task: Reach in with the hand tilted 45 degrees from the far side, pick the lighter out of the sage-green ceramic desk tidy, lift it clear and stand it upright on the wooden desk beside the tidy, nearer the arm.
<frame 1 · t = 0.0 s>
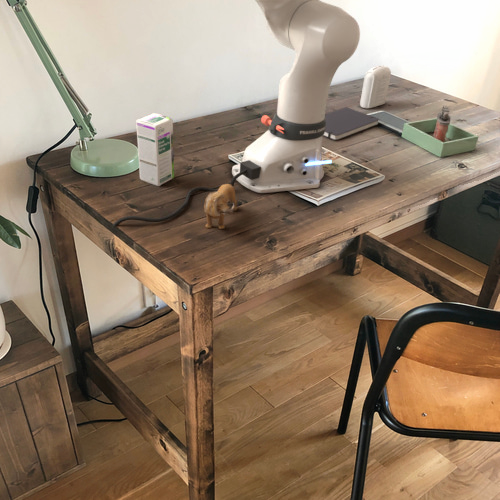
syrup box: (156, 179, 132), on the table
tan animal figure: (221, 222, 118), on the table
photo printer: (372, 105, 185), on the table
notebook: (340, 126, 168), on the table
desk tidy: (437, 143, 161), on the table
lighter: (437, 143, 161), resting in desk tidy
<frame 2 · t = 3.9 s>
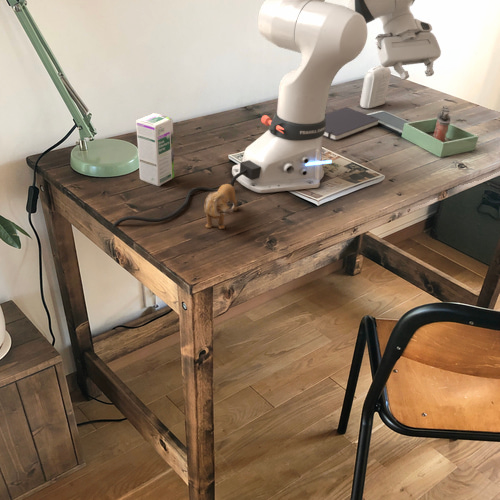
hand: (418, 76, 161), 15 cm above the table, tool tilted 45°, fingers open, 8 cm apart
nothing on the table moved.
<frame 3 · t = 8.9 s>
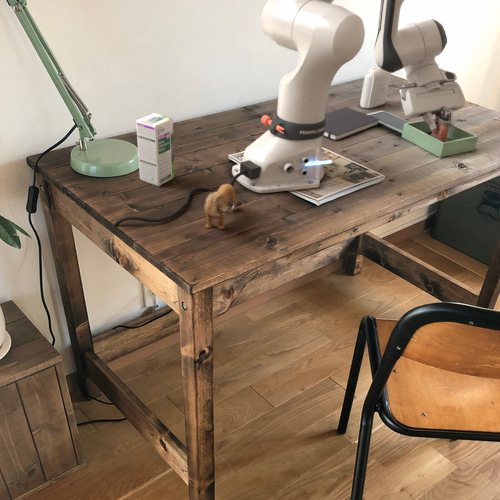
hand: (443, 127, 158), 5 cm above the table, tool tilted 45°, fingers closed on lighter, 4 cm apart
lighter: (437, 143, 161), resting in desk tidy, touching gripper
everything else where it was.
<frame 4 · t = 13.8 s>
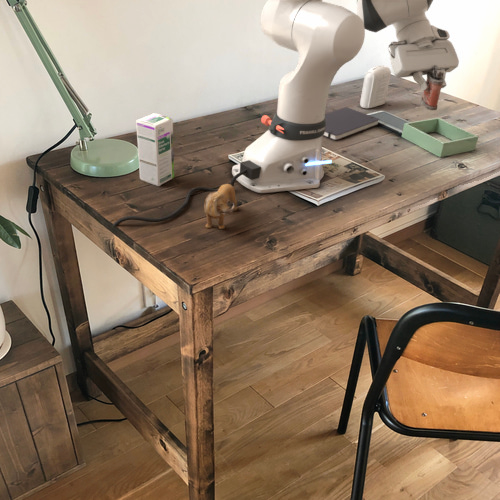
hand: (434, 88, 148), 17 cm above the table, tool tilted 45°, fingers closed on lighter, 4 cm apart
lighter: (428, 105, 151), point 12 cm above the table, touching gripper
everything else where it was.
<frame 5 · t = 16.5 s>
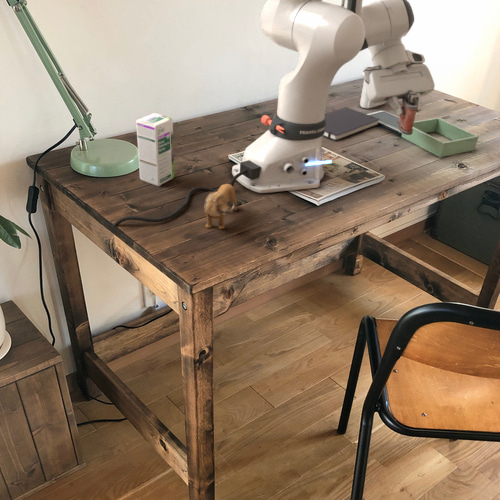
hand: (409, 113, 148), 11 cm above the table, tool tilted 45°, fingers closed on lighter, 4 cm apart
lighter: (404, 129, 151), point 6 cm above the table, touching gripper
everything else where it was.
when the fingers open (4 cm above the table, at t = 18.7 s): lighter stays where it is, on the table.
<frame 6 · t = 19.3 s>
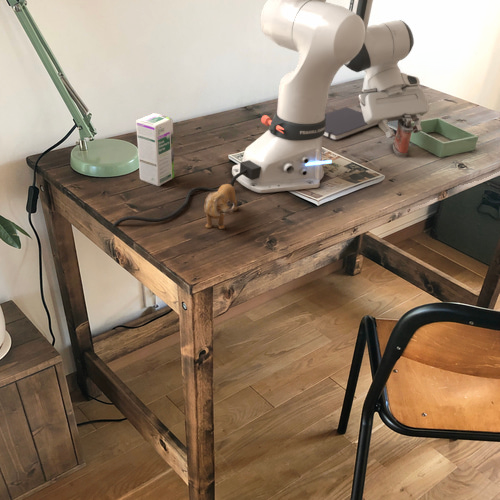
hand: (404, 134, 151), 5 cm above the table, tool tilted 45°, fingers open, 8 cm apart
lighter: (399, 151, 155), on the table
everything else where it was.
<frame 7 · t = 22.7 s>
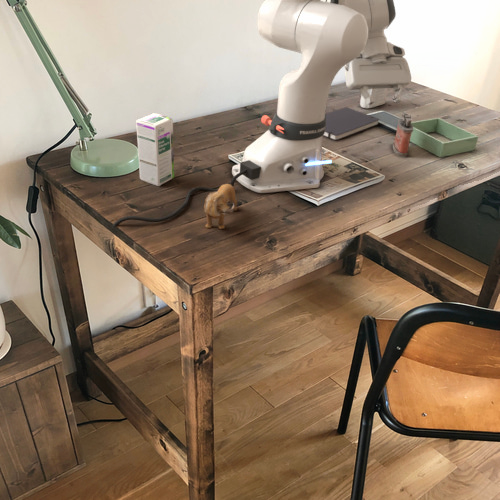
hand: (384, 103, 156), 10 cm above the table, tool tilted 40°, fingers open, 8 cm apart
nothing on the table moved.
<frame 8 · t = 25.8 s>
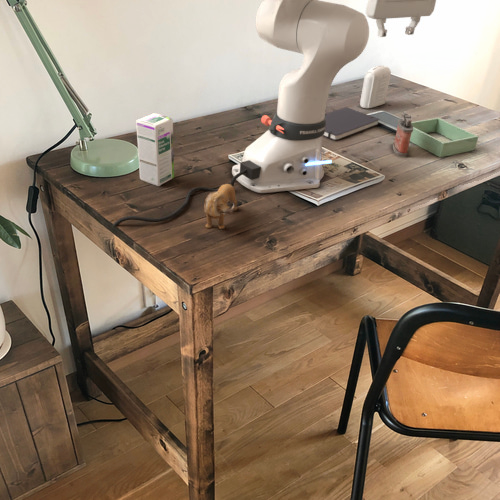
hand: (395, 35, 149), 27 cm above the table, tool pointing down, fingers open, 8 cm apart
nothing on the table moved.
at the end: lighter inside the target area (0.1 cm from its centre), on the table; lighter tilted 0°; lighter touching table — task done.
